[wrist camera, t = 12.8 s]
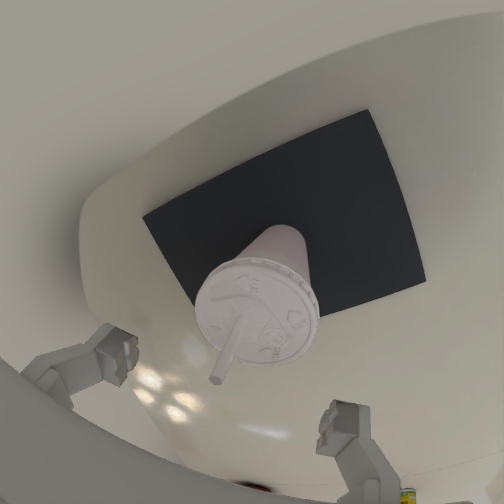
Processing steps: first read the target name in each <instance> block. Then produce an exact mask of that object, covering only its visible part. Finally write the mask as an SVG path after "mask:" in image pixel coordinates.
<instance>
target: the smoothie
mask: <svg viewBox="0 0 504 504" xmlns="http://www.w3.org/2000/svg"><path fill="white" fill-rule="evenodd" d="M195 314H196V319H197V322H198V325H199V327H200V330H201V331H202V333H203V335H204V336H205V338H206V339H207V340H208V341H209V342H210V344H211V345H212V346H213V347H215V348H216V349H217V350H218V351H219V352H221V354H220V356H219V358H218V360H217V362H216V365H215V367H214V369H213V371H212V373H211V375H210V377H209V381H210V382H211V383H212V384H214V385H221V384H222V383H223V381H224V378H225V376H226V373H227V371H228V369H229V366H230V364H231V362H232V359H233V360H235V361H237V362H240V363H243V364H247V365H250V366H257V367H273V366H279V365H283V364H287V363H289V362H292V361H294V360H296V359H297V358H299V357H300V356H301V355H303V354H304V353H305V352H306V351H307V350H308V349H309V347H310V346H311V344H312V343H313V341H314V338H315V336H316V332H317V327H318V322H319V318H320V314H319V305H318V301H317V299H316V297H315V294H314V292H313V290H312V288H311V284H310V275H309V267H308V258H307V250H306V243H305V240H304V238H303V236H302V235H301V234H300V232H299V231H297V230H296V229H295V228H293V227H291V226H288V225H274V226H271V227H269V228H268V229H266V230H265V231H264V232H263V233H262V234H261V235H260V236H259V237H257V238H256V239H255V240H254V241H253V242H252V243H251V244H250V245H249V246H248V247H247V248H245V249H244V250H243V251H242V252H241V253H240V254H239V255H238V256H237V257H236V258H235V259H233V260H231V261H228V262H225V263H223V264H221V265H220V266H218V267H217V268H216V269H214V270H213V271H212V272H211V273H210V274H209V276H208V277H207V279H206V280H205V281H204V283H203V285H202V287H201V288H200V290H199V292H198V294H197V297H196V302H195Z"/></svg>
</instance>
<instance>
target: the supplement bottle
mask: <svg viewBox="0 0 504 504" xmlns="http://www.w3.org/2000/svg"><path fill="white" fill-rule="evenodd" d="M400 504H416V491H415V490H414V489H402V490H401V495H400Z"/></svg>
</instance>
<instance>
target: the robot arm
mask: <svg viewBox="0 0 504 504" xmlns="http://www.w3.org/2000/svg"><path fill="white" fill-rule="evenodd" d="M137 344H138V337H136V336H134V335H132V334H130V333H128V332H126V331H124V330H121V329H119V328H117V327H115V326H113V325H111V324H109V323H105V324H103V325H102V326H101V327H100V328H99V329H98V330H97V331H96V332H95V333H94V335H92V337H91V338H90V339H89V340H88V341H87V342H86V343H85V344H84V345H83V344H77V345H74V346H71V347H67V348H64V349H60V350H57V351H53V352H50V353H47V354H43V355H40V356H37V357H36V358H35V359H34V360H33V361H32V362H31V363H30V364H29V365H28V366H27V367H26V368H25V369H24V370H23V371H22V372H21V373H19V372H18V371H16V370H15V369H14V368H13V367H11V366H10V365H9V364H8V363H7V362H6V361H4V360H3V359H2V358H1V357H0V504H400V495H401V486H400V479H399V477H398V476H397V474H396V472H395V471H394V469H393V468H392V466H391V465H390V463H389V462H388V460H387V459H386V457H385V456H384V454H383V453H382V451H381V450H380V448H379V447H378V445H377V444H376V442H375V441H374V440H372V439H371V425H370V407H369V406H365V405H360V404H356V403H350V402H345V401H340V400H335V399H334V400H333V401H332V402H331V403H330V407H329V409H328V410H326V411H325V412H324V414H323V416H322V418H321V421H320V425H319V433H320V434H321V436H320V437H319V439H318V440H317V446H316V454H321V455H325V456H331V457H335V460H336V462H337V465H338V467H339V469H340V471H341V474H342V476H343V478H344V480H345V483H346V485H347V487H348V489H349V492H348V493H346V494H345V495H343V496H342V497H340V498H339V499H337V503H329V502H321V501H314V500H307V499H301V498H295V497H290V496H285V495H280V494H275V493H270V492H266V491H261V490H257V489H253V488H249V487H246V486H242V485H238V484H235V483H231V482H228V481H225V480H221V479H218V478H215V477H212V476H209V475H206V474H203V473H200V472H197V471H194V470H192V469H189V468H186V467H183V466H181V465H178V464H176V463H173V462H171V461H168V460H166V459H164V458H161V457H159V456H157V455H154V454H152V453H150V452H148V451H145V450H143V449H141V448H139V447H137V446H135V445H133V444H131V443H129V442H127V441H125V440H123V439H121V438H119V437H117V436H115V435H113V434H111V433H109V432H107V431H106V430H104V429H102V428H100V427H99V426H97V425H95V424H93V423H92V422H90V421H88V420H87V419H85V418H83V417H82V416H80V415H78V414H77V413H75V412H73V411H72V409H73V408H74V406H73V403H72V401H71V399H70V396H71V395H73V394H75V393H77V392H79V391H82V390H84V389H86V388H88V387H90V386H92V385H94V384H97V383H99V382H101V381H103V380H105V381H107V382H109V383H112V384H114V385H116V386H118V387H120V386H121V385H122V383H123V382H124V381H125V379H126V378H127V372H128V371H131V370H133V368H134V367H135V366H136V364H137V361H138V358H139V350H138V348H137V347H136V345H137ZM446 504H473V503H472V502H469V501H462V502H455V503H446Z"/></svg>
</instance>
